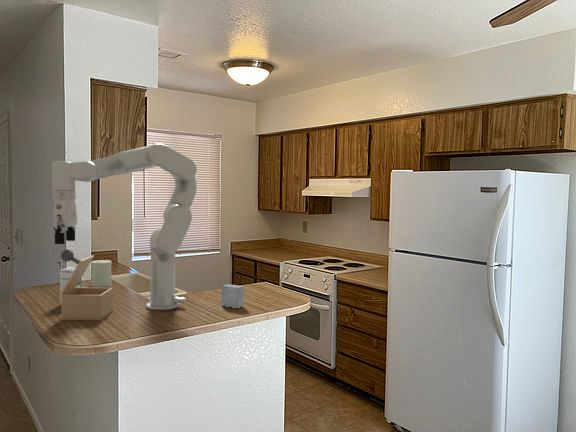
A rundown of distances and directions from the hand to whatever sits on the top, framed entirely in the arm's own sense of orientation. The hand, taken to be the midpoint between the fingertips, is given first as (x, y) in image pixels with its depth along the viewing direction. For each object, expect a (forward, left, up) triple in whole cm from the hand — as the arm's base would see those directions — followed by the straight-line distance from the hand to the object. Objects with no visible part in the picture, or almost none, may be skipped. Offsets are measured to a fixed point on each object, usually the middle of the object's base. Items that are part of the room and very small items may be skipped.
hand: (65, 242), depth 174 cm
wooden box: (-8, 0, -27) cm, 28 cm away
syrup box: (+4, -16, -27) cm, 32 cm away
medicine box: (-61, -14, -27) cm, 68 cm away
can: (+4, -53, -27) cm, 60 cm away
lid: (-5, 0, -12) cm, 13 cm away
